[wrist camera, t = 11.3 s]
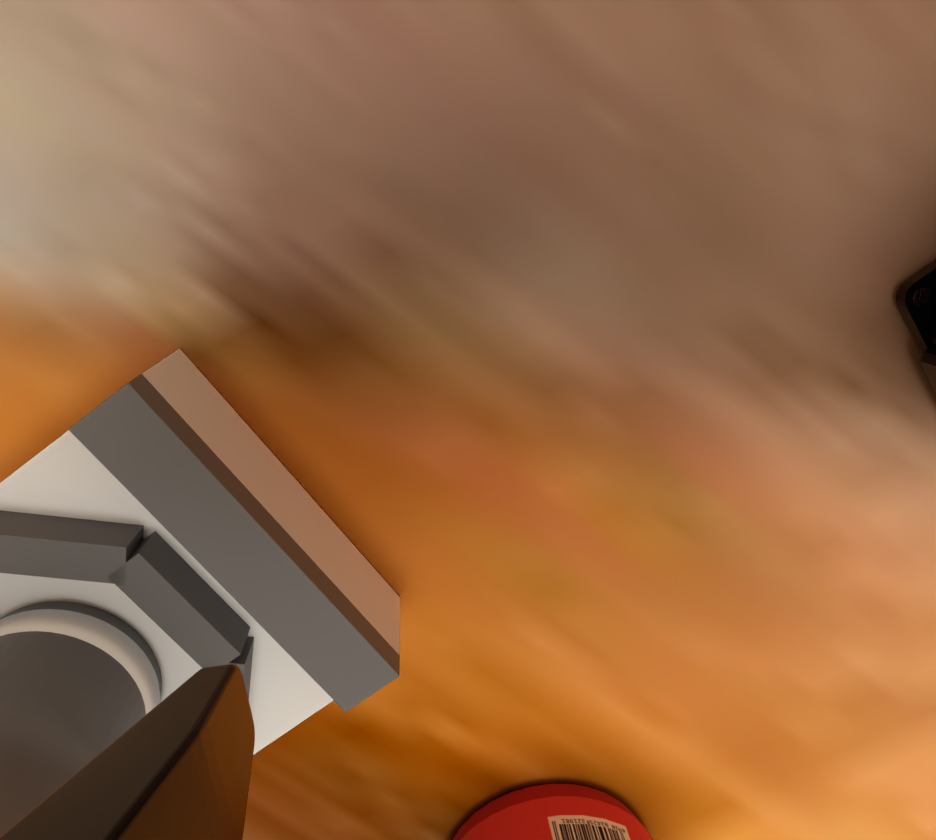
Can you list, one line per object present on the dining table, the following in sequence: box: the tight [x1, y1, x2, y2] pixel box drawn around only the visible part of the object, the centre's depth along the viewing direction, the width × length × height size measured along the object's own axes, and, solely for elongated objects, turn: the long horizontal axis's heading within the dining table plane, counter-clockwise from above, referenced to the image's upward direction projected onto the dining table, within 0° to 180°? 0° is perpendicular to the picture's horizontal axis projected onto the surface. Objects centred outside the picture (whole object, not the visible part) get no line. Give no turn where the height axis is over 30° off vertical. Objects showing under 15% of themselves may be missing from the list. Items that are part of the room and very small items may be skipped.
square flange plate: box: [0, 348, 400, 755], centre depth 20 cm, size 13×10×4 cm
